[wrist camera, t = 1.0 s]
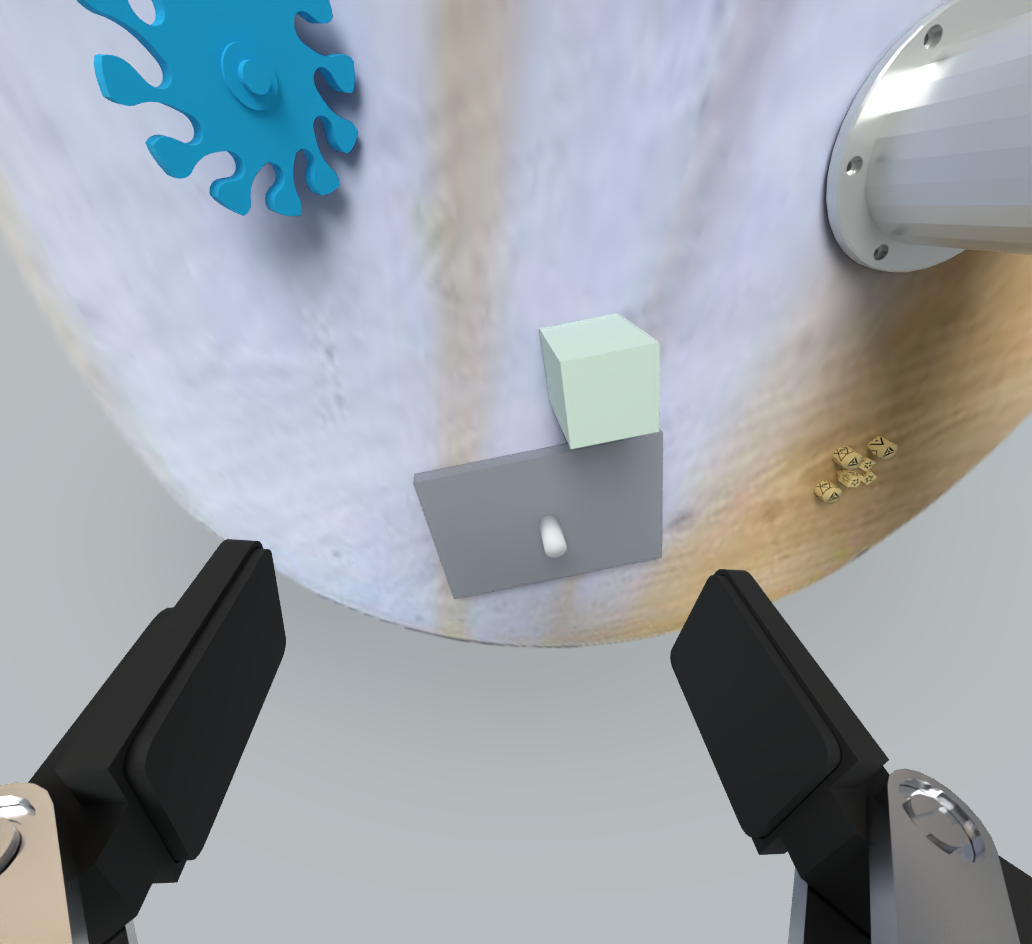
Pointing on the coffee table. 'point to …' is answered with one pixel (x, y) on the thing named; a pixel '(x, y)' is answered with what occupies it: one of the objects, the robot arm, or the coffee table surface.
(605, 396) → the block
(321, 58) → the gear
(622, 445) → the pin plate
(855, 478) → the dice set
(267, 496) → the coffee table surface
